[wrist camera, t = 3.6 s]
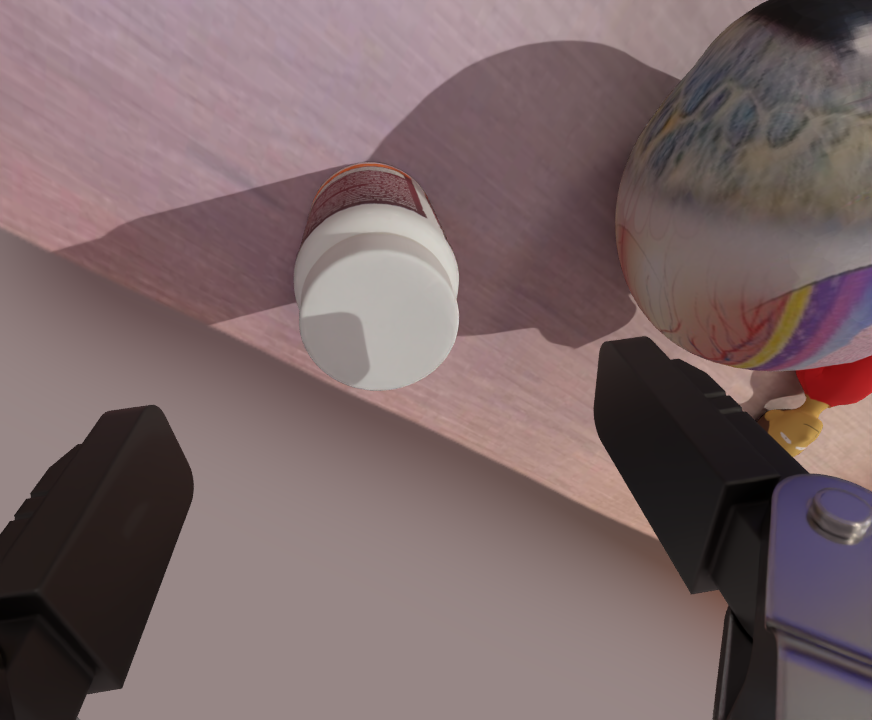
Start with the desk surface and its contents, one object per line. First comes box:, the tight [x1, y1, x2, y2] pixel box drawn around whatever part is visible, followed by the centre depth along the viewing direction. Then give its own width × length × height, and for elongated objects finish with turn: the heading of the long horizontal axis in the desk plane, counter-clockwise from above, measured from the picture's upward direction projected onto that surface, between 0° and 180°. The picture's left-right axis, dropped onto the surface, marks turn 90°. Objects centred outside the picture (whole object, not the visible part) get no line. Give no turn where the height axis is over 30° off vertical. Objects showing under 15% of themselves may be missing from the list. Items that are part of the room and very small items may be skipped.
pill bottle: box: [294, 162, 459, 391], centre depth 16 cm, size 5×5×8 cm
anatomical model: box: [615, 0, 872, 371], centre depth 16 cm, size 10×12×10 cm
